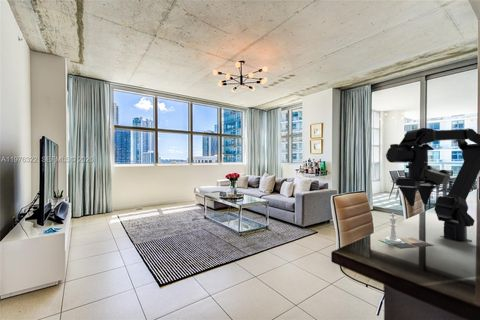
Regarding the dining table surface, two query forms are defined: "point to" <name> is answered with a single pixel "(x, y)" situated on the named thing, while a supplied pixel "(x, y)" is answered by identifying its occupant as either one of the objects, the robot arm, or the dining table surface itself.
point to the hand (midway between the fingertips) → (418, 205)
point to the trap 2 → (421, 244)
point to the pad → (391, 243)
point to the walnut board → (409, 242)
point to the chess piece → (393, 232)
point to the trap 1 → (404, 245)
